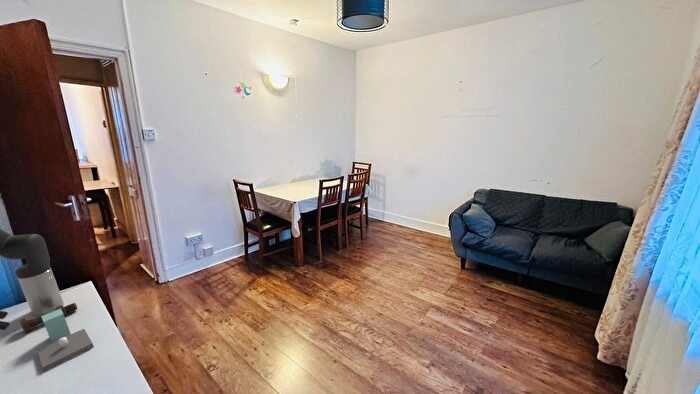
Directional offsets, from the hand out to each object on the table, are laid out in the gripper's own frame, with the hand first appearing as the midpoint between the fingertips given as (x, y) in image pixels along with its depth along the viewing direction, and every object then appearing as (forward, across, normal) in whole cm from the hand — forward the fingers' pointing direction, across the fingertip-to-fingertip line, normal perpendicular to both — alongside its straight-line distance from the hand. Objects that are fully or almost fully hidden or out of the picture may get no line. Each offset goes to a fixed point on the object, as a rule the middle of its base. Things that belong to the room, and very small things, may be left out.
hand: (6, 320), depth 92 cm
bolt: (+16, +14, +3) cm, 22 cm away
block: (+16, 0, +2) cm, 16 cm away
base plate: (+16, -11, +2) cm, 20 cm away
